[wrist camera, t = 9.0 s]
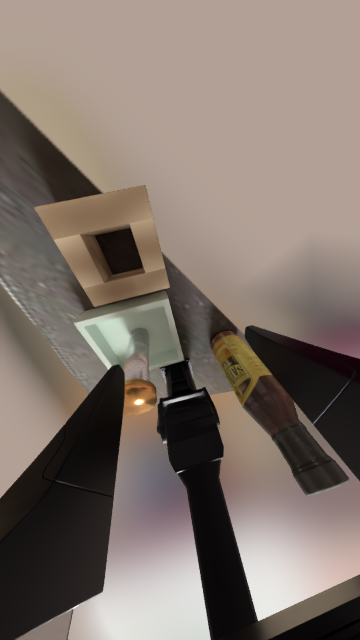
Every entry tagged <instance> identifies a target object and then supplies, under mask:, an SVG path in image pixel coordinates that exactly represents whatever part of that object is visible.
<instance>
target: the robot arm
mask: <svg viewBox="0 0 360 640" xmlns="http://www.w3.org/2000/svg"><path fill="white" fill-rule="evenodd" d="M245 338H246V340H247V342H248V343H249V345H250V346H251V348H252V349H253V351H254V352H255V354H256V355H257V357H258V358H259V359H260V360H261V362H262V363H263V364H264V365H265V366H266V368H267V369H268V370H269V371H270V373H271V374H272V375H273V376H274V377H275V379H276V380H277V381H278V382H279V383H280V385H281V386H282V387H283V388H284V390H285V391H286V392H287V393H288V394H289V396H290V397H291V398H292V399H293V401H294V402H295V403H296V404H297V405H298V407H299V408H300V409H301V410H302V411H303V412H304V414H305V415H306V416H307V418H308V419H309V420H310V421H311V422H312V424H314V426H315V427H316V429H317V430H318V431H319V432H320V434H321V435H322V436H323V437H324V438H325V440H326V441H327V442H328V443H329V444H330V446H331V447H332V448H333V449H334V450H335V452H336V453H337V454H338V455H339V457H340V458H341V459H342V460H343V461H344V463H345V464H346V465H347V466H348V468H349V469H350V470H351V471H352V472H353V474H354V475H355V476H356V477H357V478H358V480H359V481H360V359H358V358H355V357H351V356H348V355H344V354H341V353H337V352H334V351H330V350H327V349H324V348H321V347H318V346H314V345H311V344H308V343H305V342H302V341H299V340H296V339H292V338H290V337H287V336H284V335H280V334H277V333H274V332H271V331H268V330H265V329H261V328H258V327H255V326H247V327H246V329H245ZM160 370H161V373H162V375H163V377H164V380H165V382H166V386H167V394H168V397H166V398H160V403H159V404H158V422H157V432H158V433H159V434H160V435H161V438H162V441H163V444H165V443H167V447H168V455H169V461H170V462H171V465H172V467H173V469H174V471H175V472H176V473H177V474H178V475H179V477H180V479H181V480H182V482H183V484H184V485H185V487H186V489H187V494H188V500H189V507H190V512H191V519H192V525H193V531H194V538H195V544H196V550H197V556H198V563H199V569H200V574H201V581H202V588H203V594H204V600H205V606H206V612H207V618H208V625H209V631H210V637H211V640H360V575H358V576H356V577H353V578H351V579H349V580H347V581H345V582H343V583H341V584H338V585H336V586H334V587H332V588H330V589H328V590H325V591H323V592H321V593H319V594H317V595H314V596H313V597H310V598H308V599H306V600H304V601H302V602H299V603H297V604H295V605H293V606H291V607H288V608H286V609H284V610H282V611H280V612H278V613H276V614H273V615H271V616H269V617H267V618H265V619H263V620H260V621H258V620H257V616H256V612H255V609H254V605H253V601H252V598H251V594H250V590H249V586H248V583H247V579H246V576H245V572H244V568H243V564H242V561H241V557H240V553H239V549H238V546H237V542H236V538H235V535H234V531H233V527H232V524H231V520H230V517H229V513H228V509H227V506H226V502H225V498H224V494H223V490H222V487H221V483H220V479H219V474H220V463H221V458H223V450H224V446H223V443H222V440H221V437H220V433H219V430H218V428H219V427H220V422H219V417H218V414H217V411H216V408H215V406H214V404H213V402H212V400H211V398H210V396H209V394H208V392H207V390H206V388H205V387H204V388H202V389H198V390H197V389H196V386H195V383H194V380H193V378H194V376H193V372H192V367H191V363H190V360H189V359H186V360H183V361H180V362H177V363H173V364H170V365H167V366H163V367H161V368H160ZM124 400H125V373H124V371H123V369H122V368H121V366H120V365H119V364H116V365H113V366H111V368H110V369H109V370H108V371H107V373H106V374H105V375H104V376H103V377H102V379H101V380H100V381H99V382H98V384H97V385H96V386H95V387H94V389H93V390H92V391H91V392H90V394H89V395H88V396H87V397H86V398H85V400H84V401H83V402H82V403H81V405H80V406H79V407H78V408H77V410H76V411H75V412H74V413H73V415H72V416H71V417H70V418H69V419H68V421H67V422H66V424H65V425H64V426H63V427H62V428H61V429H60V431H59V432H58V433H57V434H56V435H55V437H54V438H53V439H52V440H51V441H50V443H49V444H48V445H47V446H46V447H45V449H44V450H43V451H42V452H41V453H40V454H39V455H38V457H37V458H36V459H35V460H34V461H33V462H32V463H31V465H30V466H29V467H28V468H27V469H26V470H25V471H24V472H23V473H22V475H21V476H20V477H19V478H18V479H17V480H16V481H15V482H14V484H13V485H12V486H11V487H10V488H9V489H8V490H7V491H6V493H5V494H4V495H3V496H2V497H1V498H0V640H68V639H67V638H68V633H69V628H70V624H71V619H72V614H73V609H74V608H75V607H77V606H79V605H80V604H83V603H84V602H86V601H88V600H90V599H92V598H94V597H96V596H97V595H99V594H101V593H102V592H103V587H104V579H105V570H106V562H107V553H108V544H109V534H110V526H111V517H112V508H113V499H114V497H113V496H114V489H115V480H116V471H117V461H118V454H119V445H120V436H121V427H122V418H123V409H124Z"/></svg>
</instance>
